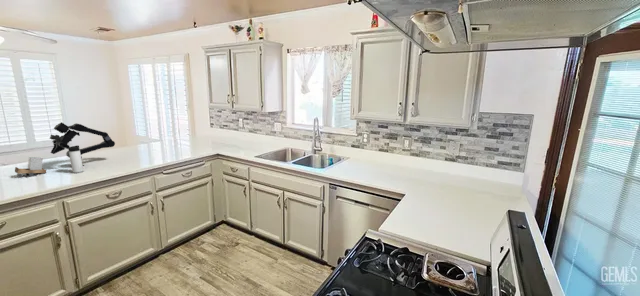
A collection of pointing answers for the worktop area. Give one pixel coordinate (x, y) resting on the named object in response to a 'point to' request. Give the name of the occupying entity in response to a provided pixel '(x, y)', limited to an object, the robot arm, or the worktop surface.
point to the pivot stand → (27, 175)
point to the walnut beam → (29, 171)
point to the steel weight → (35, 163)
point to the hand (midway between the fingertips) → (52, 153)
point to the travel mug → (75, 159)
